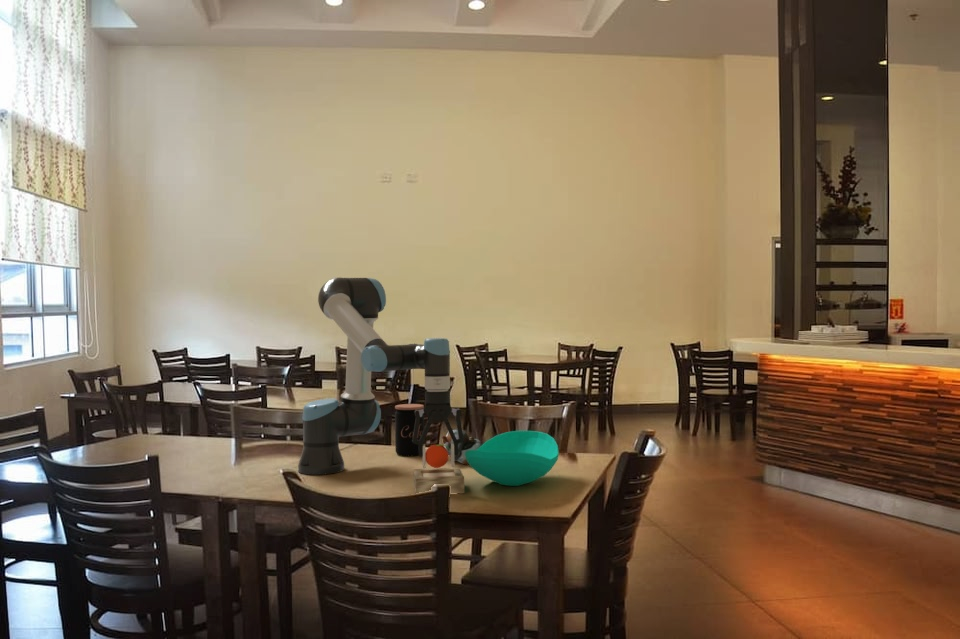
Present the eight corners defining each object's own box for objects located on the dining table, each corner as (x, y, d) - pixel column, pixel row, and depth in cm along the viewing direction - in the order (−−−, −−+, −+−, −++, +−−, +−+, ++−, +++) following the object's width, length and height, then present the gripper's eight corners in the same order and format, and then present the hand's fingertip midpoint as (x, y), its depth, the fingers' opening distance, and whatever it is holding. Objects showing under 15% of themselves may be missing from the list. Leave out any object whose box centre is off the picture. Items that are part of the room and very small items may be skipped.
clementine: (453, 465, 238) (453, 441, 238) (450, 469, 231) (450, 445, 231) (427, 465, 239) (426, 441, 239) (423, 469, 232) (423, 445, 232)
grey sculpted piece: (476, 466, 268) (456, 431, 267) (449, 477, 274) (429, 442, 273) (493, 447, 281) (473, 413, 280) (467, 457, 287) (448, 424, 286)
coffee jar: (399, 457, 286) (398, 408, 286) (392, 452, 297) (392, 404, 296) (427, 455, 290) (427, 406, 290) (420, 450, 300) (419, 403, 300)
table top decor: (489, 468, 265) (489, 429, 265) (570, 473, 257) (570, 432, 256) (447, 495, 228) (446, 449, 228) (540, 501, 219) (540, 454, 219)
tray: (415, 495, 228) (415, 479, 228) (414, 484, 242) (413, 469, 242) (464, 493, 229) (464, 477, 229) (459, 483, 243) (459, 467, 243)
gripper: (402, 392, 230) (403, 470, 230) (473, 390, 233) (474, 467, 233) (402, 389, 238) (403, 465, 238) (470, 388, 240) (471, 463, 240)
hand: (438, 466), depth 235 cm, fingers closed on clementine, 8 cm apart
